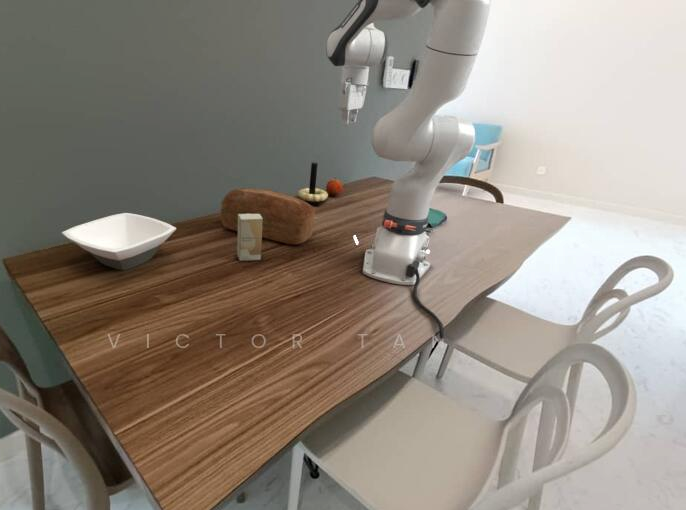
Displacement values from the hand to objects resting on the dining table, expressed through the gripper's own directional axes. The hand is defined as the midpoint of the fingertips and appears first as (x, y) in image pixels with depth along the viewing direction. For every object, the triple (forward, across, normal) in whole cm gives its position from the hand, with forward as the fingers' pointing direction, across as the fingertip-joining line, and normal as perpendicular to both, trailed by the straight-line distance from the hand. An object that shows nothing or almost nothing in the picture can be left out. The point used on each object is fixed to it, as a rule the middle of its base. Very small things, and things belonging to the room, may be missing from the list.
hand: (348, 123), depth 137 cm
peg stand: (+31, +5, +13) cm, 34 cm away
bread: (+32, -36, +13) cm, 50 cm away
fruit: (+31, +19, +8) cm, 37 cm away
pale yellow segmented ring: (+28, +5, +13) cm, 31 cm away
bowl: (+32, -73, +37) cm, 88 cm away
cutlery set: (+32, +3, -29) cm, 43 cm away
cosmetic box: (+32, -55, +9) cm, 65 cm away
